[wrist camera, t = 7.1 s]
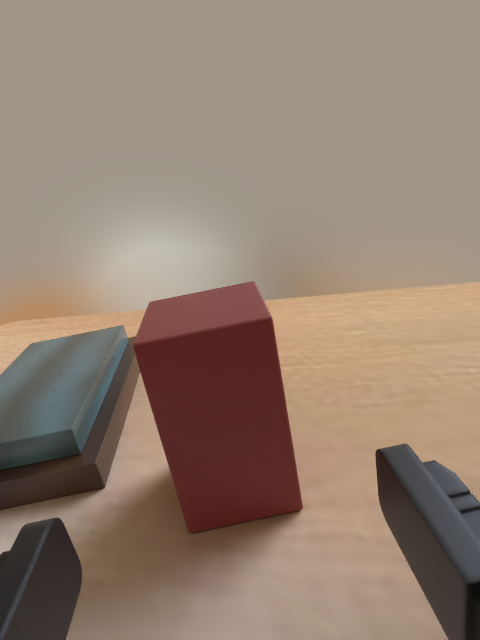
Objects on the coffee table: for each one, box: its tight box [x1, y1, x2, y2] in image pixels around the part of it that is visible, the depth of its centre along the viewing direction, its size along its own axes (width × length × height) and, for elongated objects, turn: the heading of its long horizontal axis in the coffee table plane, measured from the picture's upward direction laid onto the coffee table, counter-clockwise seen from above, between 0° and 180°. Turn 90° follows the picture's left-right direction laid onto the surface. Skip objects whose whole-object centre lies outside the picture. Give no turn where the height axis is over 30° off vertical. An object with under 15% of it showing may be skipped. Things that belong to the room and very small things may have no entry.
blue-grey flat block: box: [0, 325, 140, 509], centre depth 28 cm, size 10×17×3 cm, turn 5°
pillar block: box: [133, 282, 303, 533], centre depth 18 cm, size 5×5×9 cm
